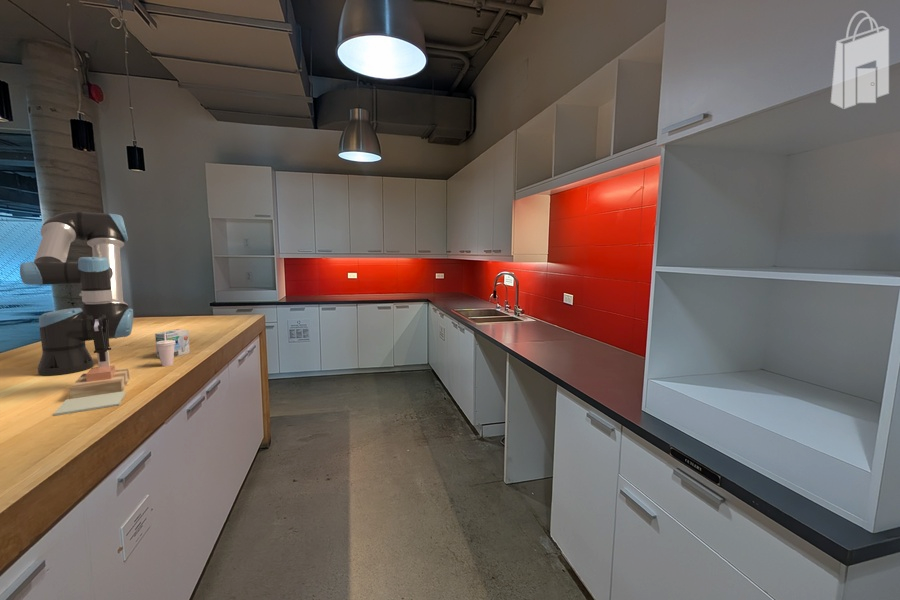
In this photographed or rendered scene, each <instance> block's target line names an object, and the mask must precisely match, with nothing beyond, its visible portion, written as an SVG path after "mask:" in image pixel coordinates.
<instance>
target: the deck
mask: <svg viewBox="0 0 900 600" xmlns="http://www.w3.org/2000/svg"><path fill="white" fill-rule="evenodd" d="M115 370H116V373H115V374H114V376H113V377H112V378H111V379H106V380H98V381H91V382H87V381H86V374H87V373H88V372H87V373H82V374H81V375H80V376H79V378H77V379H76V380H75V382H73V384H72V385H71V386H70V387H69V397H70V399H73V398H80V397H87V396H94V395H101V394H108V393H115V392H122V391H125V388H126V386H127V384H128V382H129V380H130V370H129V368H120V369H115Z"/></svg>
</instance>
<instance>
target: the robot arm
mask: <svg viewBox="0 0 900 600" xmlns="http://www.w3.org/2000/svg"><path fill="white" fill-rule="evenodd" d="M40 235H41V240H40V242H39V246H38V249H37V251H36V253H35V256H34V260H33V261H27V262H22V263H21V264H20V267H19V275H20V276H19V277H20V278H21V279H20V280H21V281H22V283H23V284H24V285H27V286H28V285H29V286H30V285H31V286H45V285H46V286H47V285H48V286H49V285H75V284H76V285H77V284H78V285H79V284H80V291H81V292H80V293H79V297H81V301H82V303H83V304H82V307H70V308H65V309H64V308H63V309H59V310H53V311H49V312H44V313H43V314H41V315H40V316H39V317H38V328H39V334H40V335H39V336H40V341H41V349H42V351H41V352H42V354H41V357H40V360H39V362H38V365H37V374H38V375H41V376H57V375H58V376H59V375H67V374H71V373H73V374H74V373H77V372H81V371H86V370H88V369H89V370H90V369H91V368H94V366H95V363H94V358H93V357H92V355H91V354H90V352H89V351H88V348H87V346H86V342H89V341H93V345H94V351H93V353H94V354H96V356H97V365H98V366H97V367H104V366H111V364H110V362H111V361H110V352H109V351H111V350H112V347H110V346H111V345H110V339H118V338H126V337H129V336H130V335H131V334H132V332H133V331H132V330H133V325H134V324H133V323H134V309H133V308H129V304H128V303H127V302H125V301H124V293H123V291H124V289H123V278H122V263H121V259H122V258H121V249H122V248H123V247H124V246H125V243H126V242H128V241H129V238H128V233H127V229H126V226H125V221H124V217H123V216H122V215H121V214H115V213H109V212H107V213H105V212H103V213H102V212H89V211H88V212H86V211H85V212H84V211H67V212H62V213H58V214H55V215H53V216H52V217H50V218H49V219H47V220H46V221H45V222H44V223H43V224H42V226H41V228H40ZM74 241H86V244H87V245H88V246H89V247H91V248H92V256H82V257H81V256H80V257H79V258H78V260H77V262H76V261H75V262H74V261H71V262H68V261H67V259H68V256H69V255H68V254H69V252H70V247H71V243H73V242H74Z"/></svg>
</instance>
